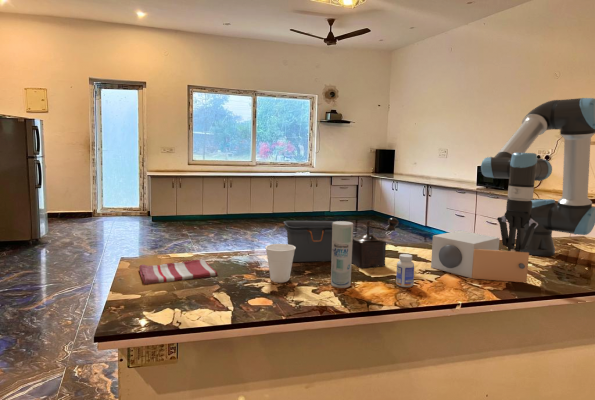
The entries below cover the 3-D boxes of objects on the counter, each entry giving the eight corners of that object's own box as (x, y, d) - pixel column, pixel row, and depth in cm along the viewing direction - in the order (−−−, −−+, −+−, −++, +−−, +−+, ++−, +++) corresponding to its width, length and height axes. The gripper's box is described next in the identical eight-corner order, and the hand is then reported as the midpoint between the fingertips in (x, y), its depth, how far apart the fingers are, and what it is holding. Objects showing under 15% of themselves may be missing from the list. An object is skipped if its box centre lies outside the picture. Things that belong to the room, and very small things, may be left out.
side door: (525, 281, 142) (528, 252, 140) (527, 283, 140) (530, 253, 138) (471, 277, 145) (473, 248, 144) (473, 279, 143) (475, 250, 142)
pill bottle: (414, 283, 138) (416, 254, 137) (411, 288, 133) (413, 258, 132) (397, 281, 140) (399, 252, 139) (394, 285, 136) (395, 256, 134)
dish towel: (138, 271, 146) (138, 264, 146) (205, 264, 157) (205, 257, 156) (144, 286, 131) (143, 278, 131) (218, 277, 142) (218, 269, 141)
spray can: (351, 282, 138) (354, 221, 136) (350, 288, 132) (352, 225, 129) (331, 280, 139) (333, 220, 137) (329, 287, 133) (331, 224, 130)
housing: (457, 260, 169) (459, 230, 168) (497, 269, 157) (499, 237, 155) (428, 268, 157) (430, 236, 155) (468, 279, 144) (471, 244, 143)
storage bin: (332, 254, 174) (333, 219, 173) (344, 264, 159) (345, 227, 157) (281, 255, 170) (282, 220, 168) (288, 266, 155) (289, 228, 153)
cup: (299, 277, 142) (299, 245, 141) (288, 286, 133) (289, 252, 131) (271, 274, 145) (272, 242, 144) (259, 282, 136) (260, 248, 135)
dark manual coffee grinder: (361, 269, 154) (363, 220, 151) (348, 261, 164) (349, 215, 162) (398, 266, 159) (401, 218, 157) (383, 258, 169) (385, 213, 167)
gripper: (495, 197, 144) (488, 264, 147) (535, 202, 134) (527, 274, 137) (505, 196, 149) (499, 261, 152) (545, 200, 139) (537, 270, 142)
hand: (512, 267), depth 144 cm, fingers closed
